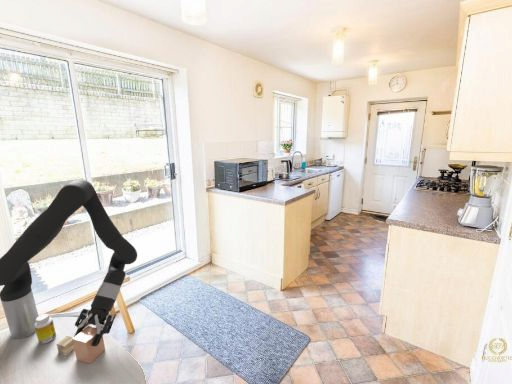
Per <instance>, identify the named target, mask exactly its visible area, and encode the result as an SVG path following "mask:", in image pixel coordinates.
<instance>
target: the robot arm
mask: <svg viewBox="0 0 512 384" xmlns="http://www.w3.org/2000/svg"><path fill="white" fill-rule="evenodd" d="M98 195H99V194H98V193H97V191H96V190H95V187H94V186H93V184H92V183H91V182H89V180H86V179H83V178H77V179H74V180H72V181H69V182H68V183H67V184H65V185H64V186H63V187H61V189H60V190H59V191H58V192H57V194H56V195H55V197H54V199H53V200H52V201H51V203H50V204H49V206H48V207H47V208H46V209H45V210H44V211H43V212H42V213H40V214H39V215H38V216H37V217H36V218H35V219H34V220H33V221H32V222H31V223H30V224H29V225H28V226H27V228H25V230H24V231H23V232H22V234H20V236H19V237H18V238H17V239H16V241H15V242H14V243H13V244H12V245H11V247H10V248H9V249H8V251H6V252H5V253H4V254H3V256H1V257H0V287H1V286H3V288H2V289H1V290H0V302H1V304H2V308H3V313H4V315H5V318H6V322H7V326H8V330H9V332H10V337H11V338H12V339H15V340H16V339H17V340H19V339H23V338H26V337H29V336H30V335H33V334H34V333H36V330H35V326H34V325H35V323H36V318H37V317H38V316H39V313H38V309H37V305H36V301H35V298H34V293H33V290H32V289H33V288H32V284H33V278H32V271H31V268H30V263H29V261H30V260H31V259H33V258H34V257H35V256H37V255H38V254H39V253H41V252H42V251H43V250H44V249H45V248H46V247H48V246H49V245H50V244H51V243H52V242H53V240H55V238H56V237H57V236H58V235H59V234H60V232H61V231H62V229H63V228H64V225H65V223H66V222H67V220H68V219H70V217H71V216H72V215H73V214H74V213H75V212H76V211H78V210H80V208H82V207H83V208H84V209H85V210H86V212H87V213H88V216H89V217H90V221H91V224H92V225H93V229H94V231H95V233H96V235H97V237H98V238H99V240H100V241H101V242H102V243H103V245H104V246H105V247H106V248H107V249H110V250H112V251H113V253H112V255H111V257H110V259H109V264H108V268H107V269H108V270H107V273H106V274H105V276H104V278H103V281H102V282H101V285H100V286H99V287H98V289H97V291H96V294H95V295H94V298H93V300H92V302H91V304H90V307H91V308H90V309H86V308H83V309H82V310H81V312H80V314H79V316H78V317H77V319H76V321H75V323H74V326H75V327H76V328H77V330H76V332H75V333H74V336H73V338H74V337H75V336H76V335H77V334H79V333H80V332H81V331H82V330H84V329H85V328H86V327H87V326H90V325H92V326H95V328H97V334H96V336H95V338H94V340H93V342H92V346H97V345H98V344H99V343H100V340H101V338H102V336H104V335H106V334H107V335H108V334H110V332H111V329H112V326H113V325H114V321H115V318H116V316H115V315H113V314H110V312H111V311H112V309H113V308H114V305H115V303H116V300H117V298H118V296H119V294H120V291H121V287H122V285H123V284H124V283H123V282H124V281H125V278H126V275H127V274H126V272H125V271H124V270H125V267H126V265H131V264H133V263H135V262H136V260H137V258H138V252H137V250H136V248H135V247H134V246H133V244H132V243H130V242H129V241H128V240H127V239H126V238H124V236H123V235H122V233H121V232H120V230H118V228H117V226H115V224H114V223H113V221H112V219H111V218H110V216H109V215H108V213H107V211H106V210H105V207H104V205H103V204H102V202H101V200H100V197H99V196H98Z"/></svg>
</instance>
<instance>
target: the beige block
mask: <svg viewBox="0 0 512 384" xmlns="http://www.w3.org/2000/svg"><path fill="white" fill-rule="evenodd" d="M72 338H74V336H73V337H72V336H69V335H66V336H65V337H63V338H62V339H61V340H59V341H58V342H57V343H56V348H57V351H58V352H59V353H58V352H57V353H58V354H61V353H62V355H64V354H67V355H68V354H70V353H71V352H72V351H73V350H74V345H73V341H72ZM70 351H71V352H70Z"/></svg>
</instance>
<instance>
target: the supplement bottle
mask: <svg viewBox="0 0 512 384" xmlns="http://www.w3.org/2000/svg"><path fill="white" fill-rule="evenodd" d="M34 326H35V330H36V331H35V333H36V337H37V341H38V343H39V344H47V343H50V342H51V341H53V340H54V339H55V337H56V335H57V334H56V330H55V329H56V328H55V323H54V321H53V318H52V317H51V316H50V315H49V313H43V314H40V315H38V317H37V318H36V323H35V325H34Z"/></svg>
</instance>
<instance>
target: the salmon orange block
mask: <svg viewBox="0 0 512 384" xmlns="http://www.w3.org/2000/svg"><path fill="white" fill-rule="evenodd" d="M96 334H97V328H96V326H95V327H94V326H90V325H88V326H87V327H86V328H85V329H83V330H82V331H81V332H80V333H79V334H77V335H76V336H75V335H74V336H75V337H74V336H73V338H72V341H73V345H74V349H73V350H74V353H75V358H76V360H77V359H78V360H77V361H81V362H84V363H86V364H91V363H93V361H95V360H96V359H97V358H98V357H99V355H101V354H102V353H103V352H104V351H105V350H106V347H105V341H104V337H103V336H104V335H103V336H102V338H101V340H100V343H99V344H98V345H97V346H92V342H93V340H94V338H95V336H96Z"/></svg>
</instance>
